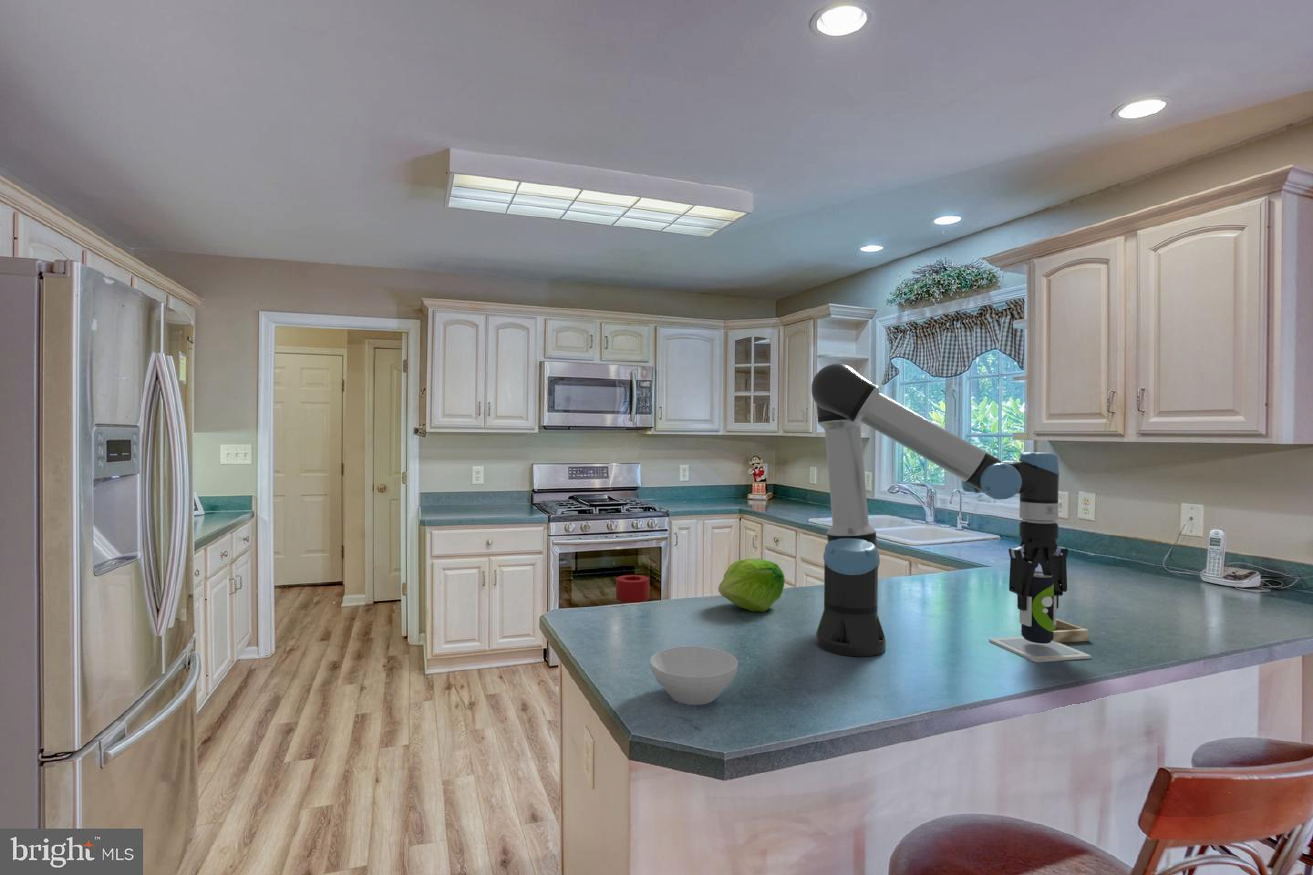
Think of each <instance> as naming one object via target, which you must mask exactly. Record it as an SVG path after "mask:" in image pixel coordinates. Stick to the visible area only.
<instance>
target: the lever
mask: <svg viewBox="0 0 1313 875" xmlns="http://www.w3.org/2000/svg"><path fill="white" fill-rule="evenodd" d="M615 581H616V582H615V599H616V600H617V601H619V602H624V603H641V602H646V601H648V600H650V599H649V598H650V594H649V593H650V591H649V590H650V589H649V588H650V578H649V577H648V576H645V575H640V574H625V575H620V576H617V577H616V579H615Z"/></svg>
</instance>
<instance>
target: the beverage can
mask: <svg viewBox="0 0 1313 875" xmlns="http://www.w3.org/2000/svg"><path fill="white" fill-rule="evenodd" d="M1052 576H1053V575H1052ZM1052 576H1050V575H1046V574H1043V571H1038V570H1037V571H1036V570H1035V572H1034V576H1033V580H1032V583H1031V587H1030V591H1029V595H1028V596H1030V597H1032V626H1026V625H1024V624H1021V623H1020V624H1021V628H1020V629H1021V631H1020V632H1021V634H1020V635H1021V637H1024V639H1025V640H1027V641H1030V642H1034V643H1042V644H1046V643H1050V642H1051V641H1052V640H1053V639H1054V631H1055V630H1054V580H1053V579H1052Z"/></svg>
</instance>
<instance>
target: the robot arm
mask: <svg viewBox="0 0 1313 875" xmlns="http://www.w3.org/2000/svg"><path fill="white" fill-rule="evenodd" d="M811 396H812V398H813V400H814V402H815V405H816V414H817V415H816V417H817V425H819V426H820V427H821V428H822V429H823V430H824V434H825V436H824V437H825V449H826V460H827V461H826V462H827V473H828V474H827V475H828V484H829V486H828V487H829V495H830V497H829V498H830V511H831V521H832V525H831V527H830V528H829V529H828V530H827V531H826V535H827V543H826V544H825V546H824V552H823V558H822V559H823V562H824V569H823V570H824V571H823V572H824V573H823V574H824V576H823V579H824V580H823V582H824V583H823V586H824V588H823V611H822V615H821V617H820V620H819V623H818V627H817V629H816V633H815V643H816V645H817V646H818V648H820V649H822V650H823V651H826V652H829V653H833V654H837V655H840V656H841V655H842V656H847V657H873V656H878V655H881V654H883V653H885V652H886V646H887V645H886V644H887V642H886V641H887V640H886V637H885V633H884V630H883V627H882V623H881V621H880V617H879V615H878V598H879V597H878V596H879V594H878V593H879V591H878V588H879V587H878V586H879V584H878V580H879V566H880V562H881V560H880V554H879V552H878V541H877V540H878V539H877V531H876V529H875V528H874V527H873V526H871V525H870V522H869V512H868V501H867V498H868V497H867V487H866V477H865V466H864V455H863V454H864V453H863V441H862V440H863V439H862V430H861V429H862V425H863V424H865V425H867V426H868V427H870V428H872V429H874V430H875V431H877V432H879V433H880V434H882V435H884V436H886V437H887V438H889V439H890V440H893V441H894V442H896V443H898V444H899V445H901V446H902V447H904V448H906V449H908V450H910V451H912V452H913V453H915V454H917V455H919V456H920V457H922V458H924V459H925V460H927V461H929V462H931V463H932V464H934V465H935V466H938V467H939V468H941V469H943V470H944V471H946V472H948V473H950V474H951V475H953V476H955V477H956V478H959V479H960V480H961V487H962V490H963V491H964V492H965V493H974V494H985V495H986V496H988V497H990V498H992V499H993V500H1007V499H1011V498H1013V497H1014V496H1016V495H1017V494H1019V512H1018V513H1019V519H1021V521H1020V522H1019V531H1018V533H1019V537H1020V539H1021V542H1020V544H1019V546H1017V547H1015V548H1012V547H1010V548H1008V553H1009V554H1008V555H1009V557H1010V560H1009V561H1010V562H1009V564H1010V565H1009V577H1008V578H1009V583H1008V591H1009V592H1011V593H1014V594H1016V595H1017V605H1016V606H1017V609H1018V610H1019V624H1024V625H1026V626H1032V597H1030V596H1028V595H1029V591H1030V587H1031V583H1032V580H1033V576H1034V572H1035V571H1036V568H1038V566H1039V565H1040V567H1041V570H1042V571H1041V572H1043V574H1046V575H1050V576H1052V575H1053V576H1052V579H1053V580H1054V625H1056V619H1057V610H1058V609H1059V602H1060V601H1059V600H1060V599H1059V597H1062V596H1063V595H1064V593H1066V592H1067V591H1068V574H1067V573H1068V572H1067V568H1068V567H1067V557H1068V553H1069V549H1068V548H1067V547H1063V546H1058V544H1057V542H1056V541H1057V540H1058V539H1059V524H1058V523H1057V521H1058V520H1059V489H1060V488H1059V485H1060V484H1059V482H1060V481H1059V480H1060V479H1059V478H1060V475H1061V474H1060V469H1059V468H1060V467H1059V466H1060V465H1059V458H1058V456H1057V455H1056V454H1055V453H1054V452H1029V451H1027V452H1022V453H1020V455H1019V459H1018V460H1012V461H1011V460H1000V459H998V458H997V457H995V456H993V455H992V454H989V453H987V452H986V451H984V450H983V449H981V448H979V447H977V446H975V445H973V444H971V443H970V442H969V441H966V440H965V439H963V438H961V437H959V436H957V435H956V434H954V433H952V432H951V431H948V430H947V429H945V428H943V427H941V426H939V425H938V424H936V423H934V422H933V421H931V420H929V419H927V418H926V417H924V416H922V415H920V414H919V413H917V412H916V411H913V410H911V409H910V408H908V407H906V406H904V405H902V404H901V403H900V402H897V401H895V400H894V399H892V398H891V397H888V396H886V395H885V394H883V393H881V391H880V387H879V386H878V385H876V384H875V383H872V382H871V381H869V380H868V379H866V378H865V377H863V376H862V375H861V374H859V373H858V372H857V371H856V370H855V369H854V368H852V367H850V366H849V365H846V364H843V363H834V364H829V365H826V366H824V367H823V368H821V369H820V370H819V371H818V372H816V374H815V376H814V377H813V380H812V383H811Z"/></svg>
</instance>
